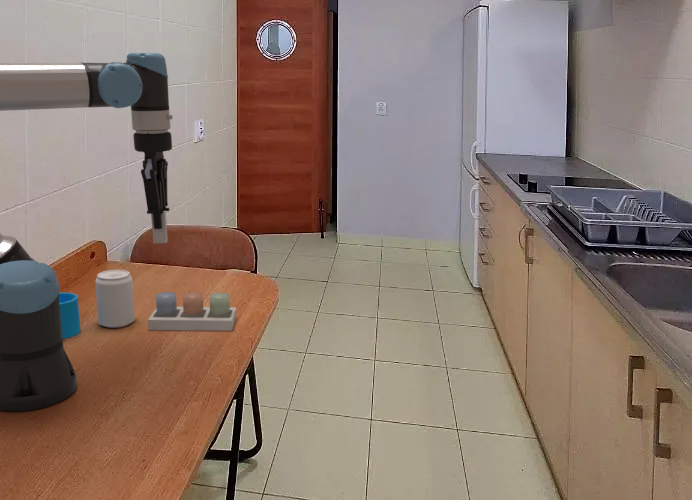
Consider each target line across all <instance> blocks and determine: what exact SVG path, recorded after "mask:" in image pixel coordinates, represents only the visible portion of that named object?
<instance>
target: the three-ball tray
mask: <svg viewBox="0 0 692 500" xmlns="http://www.w3.org/2000/svg"><path fill="white" fill-rule="evenodd" d="M236 319H237V307H235V306H234V307H231V306H230V311H229V312H228V313H226V314H213V313H211V312H210V306H203V312H201V313H198V314H187V313H184V312H183V306H177V311H176V312H173V313H169V314H161V313H158V312H157V309H156V308H155V309H154V310H153V312H152V313H151V315H150V316H149V317H148V320H147V324H148V325H147V327H148V328H147V329H148V331H195V332H196V331H197V332H198V331H201V332H203V331H206V332H207V331H208V332H211V331H213V332H215V331H216V332H217V331H218V332H219V331H220V332H223V331H224V332H225V331H227V332H233V328H234V326H235V323H236Z"/></svg>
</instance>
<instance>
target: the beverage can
mask: <svg viewBox="0 0 692 500" xmlns="http://www.w3.org/2000/svg"><path fill="white" fill-rule="evenodd" d="M96 275H97V276H96V279H95V283H94V284H95V294H96V296H95V298H96V309H97V312H96V313H97V321H98V324H99V325H100V326H103V327H106V328H111V329H113V328H122V327H123V328H124V327H126V326H128V325H130V324H131V323H133V322H134V321H135V300H134V299H135V298H134V284H133V277H132V276H131V273H130V271H128V270H124V269H111V270H110V269H109V270H103V271H101V272H98V273H97V274H96Z"/></svg>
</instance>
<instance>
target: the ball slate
mask: <svg viewBox="0 0 692 500" xmlns="http://www.w3.org/2000/svg"><path fill="white" fill-rule="evenodd" d="M177 301H178V300H177V294H176V292H173V291H163V292H158V293H157V294H155V305H156V307H155V309H157V312H158V313H161V314H169V313H173V312H176V311H177V307H178V306H177V305H178V303H177Z"/></svg>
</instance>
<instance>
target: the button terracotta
mask: <svg viewBox="0 0 692 500" xmlns="http://www.w3.org/2000/svg"><path fill="white" fill-rule="evenodd" d="M182 307H183V312H184V313H187V314H198V313H201V312H203V307H204V294H203V293H202V292H197V291H191V292H186V293H184V294H182Z"/></svg>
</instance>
